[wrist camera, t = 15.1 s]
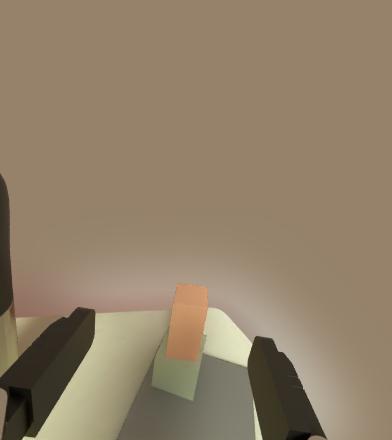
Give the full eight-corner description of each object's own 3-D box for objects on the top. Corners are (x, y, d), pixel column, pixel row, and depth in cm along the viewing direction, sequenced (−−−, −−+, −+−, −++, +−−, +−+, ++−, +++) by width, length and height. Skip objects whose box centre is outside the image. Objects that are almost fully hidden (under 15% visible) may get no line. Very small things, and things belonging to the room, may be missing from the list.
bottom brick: (151, 385, 32) (155, 357, 30) (166, 349, 39) (170, 324, 37) (192, 401, 31) (198, 371, 29) (200, 360, 38) (206, 335, 36)
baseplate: (104, 469, 23) (105, 464, 23) (161, 344, 41) (161, 340, 40) (259, 539, 21) (261, 534, 20) (249, 373, 38) (251, 369, 37)
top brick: (165, 357, 31) (173, 302, 28) (170, 331, 36) (177, 282, 33) (197, 361, 31) (208, 307, 28) (197, 335, 36) (207, 287, 33)
